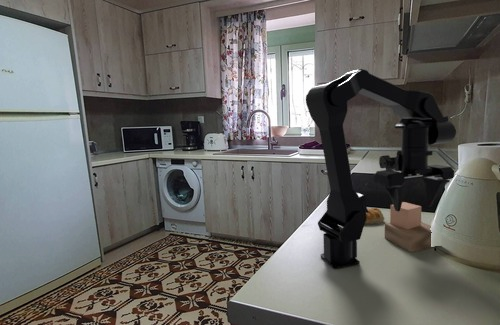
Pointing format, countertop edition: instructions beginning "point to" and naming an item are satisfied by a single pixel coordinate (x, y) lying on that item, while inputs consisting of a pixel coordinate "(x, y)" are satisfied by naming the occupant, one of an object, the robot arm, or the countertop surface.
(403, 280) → the countertop surface
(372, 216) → the pastry
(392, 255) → the countertop surface
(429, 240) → the brown wooden square block
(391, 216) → the terracotta cube
